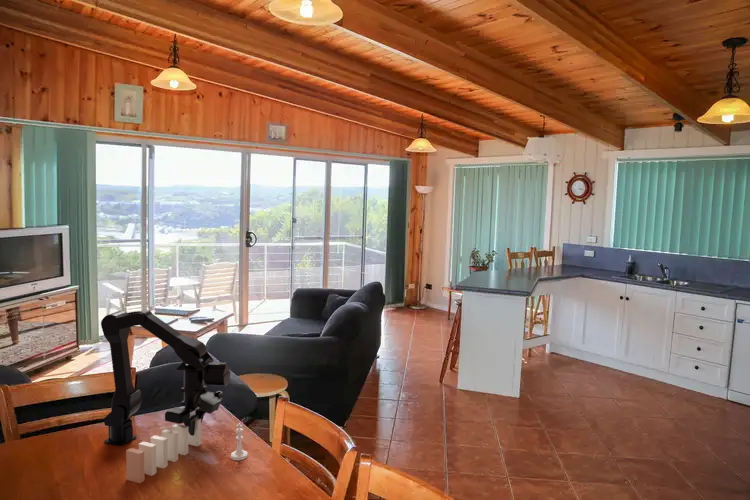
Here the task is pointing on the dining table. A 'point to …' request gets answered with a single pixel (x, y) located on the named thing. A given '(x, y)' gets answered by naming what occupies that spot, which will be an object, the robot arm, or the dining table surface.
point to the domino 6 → (195, 434)
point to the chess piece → (239, 446)
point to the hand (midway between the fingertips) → (194, 434)
